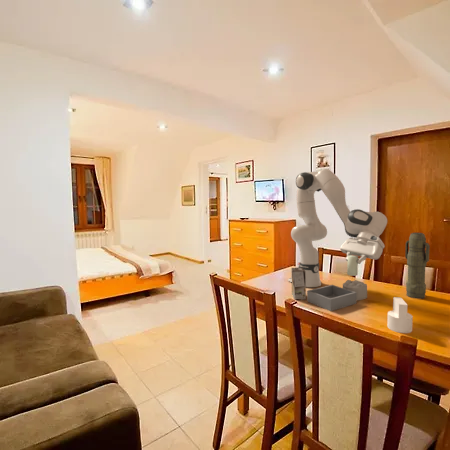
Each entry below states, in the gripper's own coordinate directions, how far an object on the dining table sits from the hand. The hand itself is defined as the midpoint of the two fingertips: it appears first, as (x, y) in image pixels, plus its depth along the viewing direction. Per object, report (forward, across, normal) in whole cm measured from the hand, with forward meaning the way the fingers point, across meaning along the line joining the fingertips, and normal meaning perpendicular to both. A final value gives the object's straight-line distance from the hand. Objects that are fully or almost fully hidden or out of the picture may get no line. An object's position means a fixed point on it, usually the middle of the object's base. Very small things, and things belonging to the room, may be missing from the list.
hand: (352, 261), depth 140 cm
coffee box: (+24, -28, +12) cm, 39 cm away
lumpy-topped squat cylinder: (+6, -12, +29) cm, 32 cm away
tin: (+4, 0, +5) cm, 6 cm away
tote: (+18, -12, +17) cm, 28 cm away
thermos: (-15, +6, +49) cm, 52 cm away
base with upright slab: (+17, +24, +17) cm, 34 cm away
